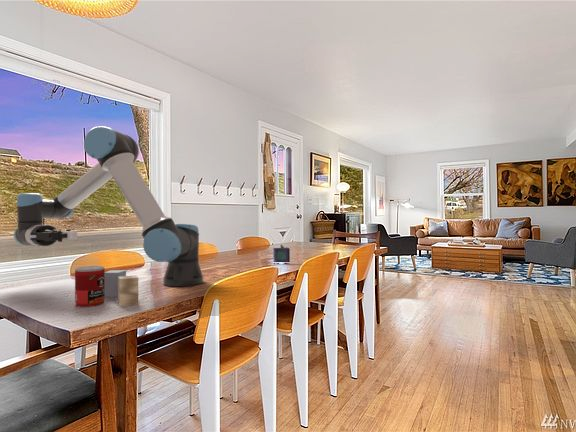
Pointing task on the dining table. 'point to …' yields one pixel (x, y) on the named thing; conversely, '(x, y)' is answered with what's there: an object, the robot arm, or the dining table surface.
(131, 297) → the beech block
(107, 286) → the slate-blue painted block
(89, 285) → the canned food
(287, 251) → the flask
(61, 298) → the dining table surface
